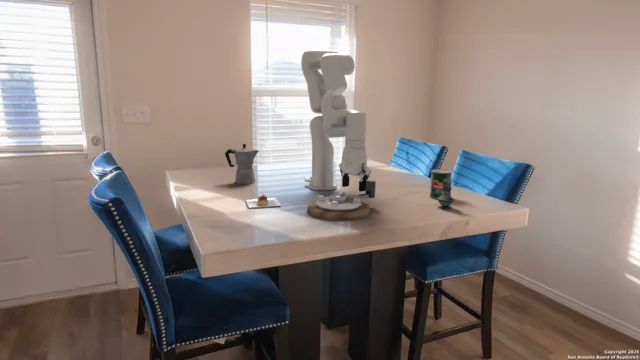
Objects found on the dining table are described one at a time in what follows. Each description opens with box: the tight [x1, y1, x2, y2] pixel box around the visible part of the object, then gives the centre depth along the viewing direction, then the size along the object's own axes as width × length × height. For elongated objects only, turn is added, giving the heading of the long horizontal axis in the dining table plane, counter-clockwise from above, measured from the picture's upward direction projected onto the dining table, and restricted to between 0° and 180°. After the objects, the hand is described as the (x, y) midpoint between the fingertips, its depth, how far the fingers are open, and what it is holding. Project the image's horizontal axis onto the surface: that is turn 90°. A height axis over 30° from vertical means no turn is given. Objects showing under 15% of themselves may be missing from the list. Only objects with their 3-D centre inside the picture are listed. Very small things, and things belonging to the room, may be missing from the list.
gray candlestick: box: [437, 176, 455, 211], centre depth 155 cm, size 6×6×12 cm
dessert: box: [244, 192, 282, 209], centre depth 159 cm, size 12×12×5 cm
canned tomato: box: [429, 168, 452, 201], centre depth 171 cm, size 8×8×11 cm
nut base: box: [306, 200, 371, 222], centre depth 150 cm, size 22×22×2 cm
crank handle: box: [315, 180, 377, 212], centre depth 151 cm, size 24×16×7 cm
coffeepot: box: [224, 143, 260, 185], centre depth 197 cm, size 15×9×18 cm, turn 103°
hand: (353, 188), depth 163 cm, fingers open, 9 cm apart
